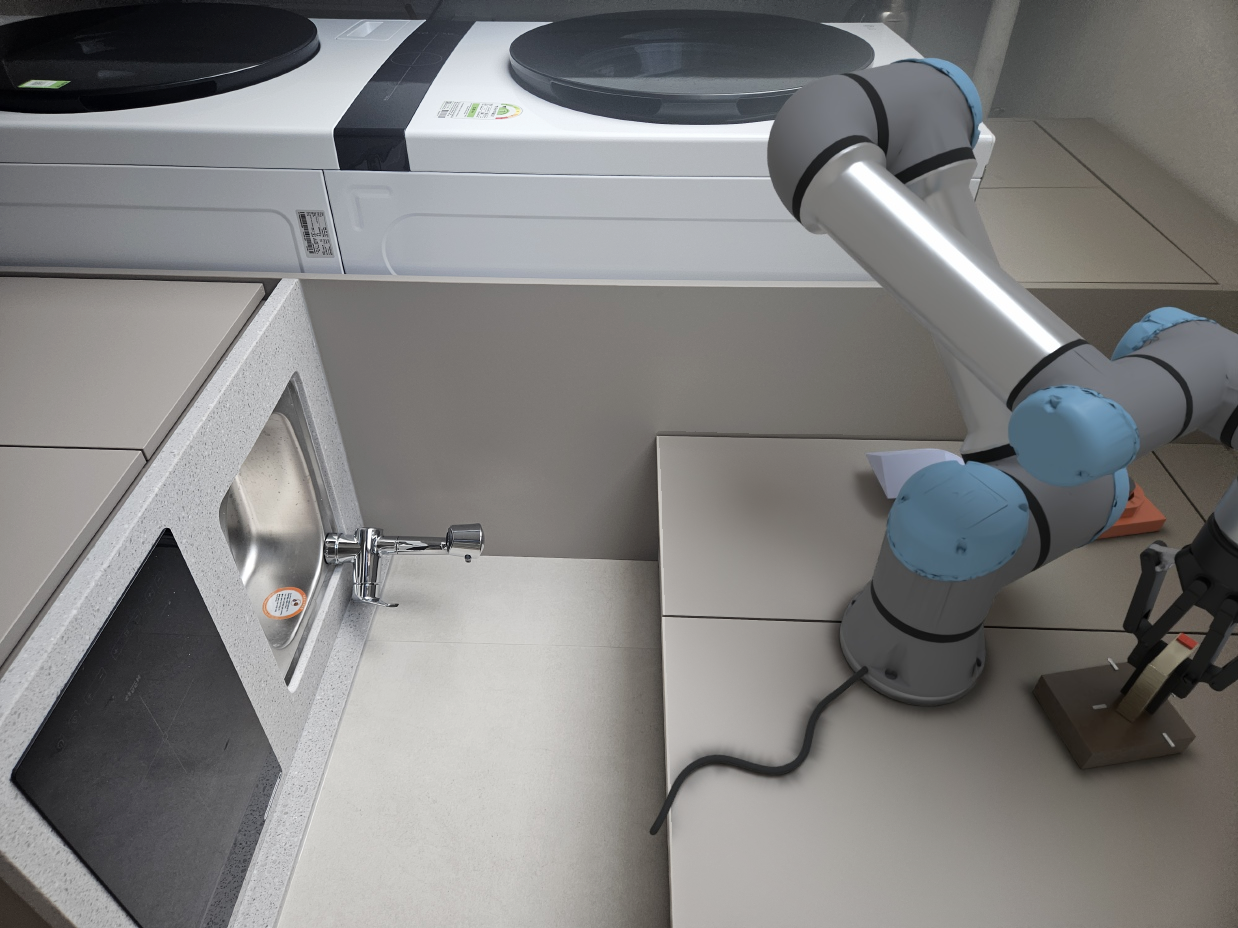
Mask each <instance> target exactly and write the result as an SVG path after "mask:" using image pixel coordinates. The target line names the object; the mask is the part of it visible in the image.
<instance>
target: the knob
mask: <svg viewBox="0 0 1238 928" xmlns="http://www.w3.org/2000/svg"><path fill="white" fill-rule="evenodd" d="M1167 644H1168V645H1167V646H1166V647H1165V648H1164V649H1163V650H1162V651H1161V652H1160V653H1159V654H1158V655H1157V656H1156V657H1155V658H1154V659H1153V660H1152V661H1151V662H1150V663H1149V664H1148V665H1147V666H1146V668H1145V669H1144V671H1143V672H1142V673H1141V675H1140V676H1139V678H1138V679H1137V680H1136V682H1135V683H1134V684H1133V686H1132V687H1131V689H1130V690H1129V691H1128V693H1127V694H1126V696H1125V697H1124V698H1123V700H1122V701H1121V703H1120V704H1119V705H1118V707H1117V708H1116V711H1117V712H1118V713H1120V714H1121V715H1122V716H1124V717H1125V718H1127V719H1128V720H1129V721H1131V722H1134V721H1135V720H1136V719H1137V718H1138V717H1139V716H1140V715H1141V714H1142V713H1143V712H1144V711H1145V709H1146V707H1147V706H1148V705H1149V703H1150V702H1151V701H1152V699H1153V698H1154V697H1155V696H1156V694H1157V693H1158V692H1159V690H1160V689H1161V688H1162V686H1163V685H1164V684H1165V682H1166V681H1167V680H1168V679H1169V677H1170V676H1171V675H1172V673H1173V672H1174V671H1175V670H1176V669H1177V668H1178V667H1179V666H1180V665H1181V664H1182V663H1183V662H1184V661H1185V660H1186V659H1187V658H1188V657H1189V658H1190V659H1191V656H1192V655H1193V654H1194V653H1195V652H1196V651H1197V650H1198V648H1199V646H1200V644H1199V642H1197V641H1196V640H1194V639H1193V638H1191V637H1190V636H1188V635H1187V634H1185V633H1184V632H1179V633H1178V634H1177V635H1176V636H1175V637H1174V638H1173V639H1172V640H1171V641H1170V642H1168V643H1167Z"/></svg>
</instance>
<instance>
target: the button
mask: <svg viewBox="0 0 1238 928" xmlns="http://www.w3.org/2000/svg"><path fill="white" fill-rule="evenodd" d="M1128 478H1129V497H1128V499H1130V497H1131V495H1132V493H1133V492H1134V490H1135V488H1136V484H1135V482H1136V481H1135V480H1134V479H1133V478H1132V477H1130V476H1129V475H1128ZM1134 481H1135V482H1134Z"/></svg>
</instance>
